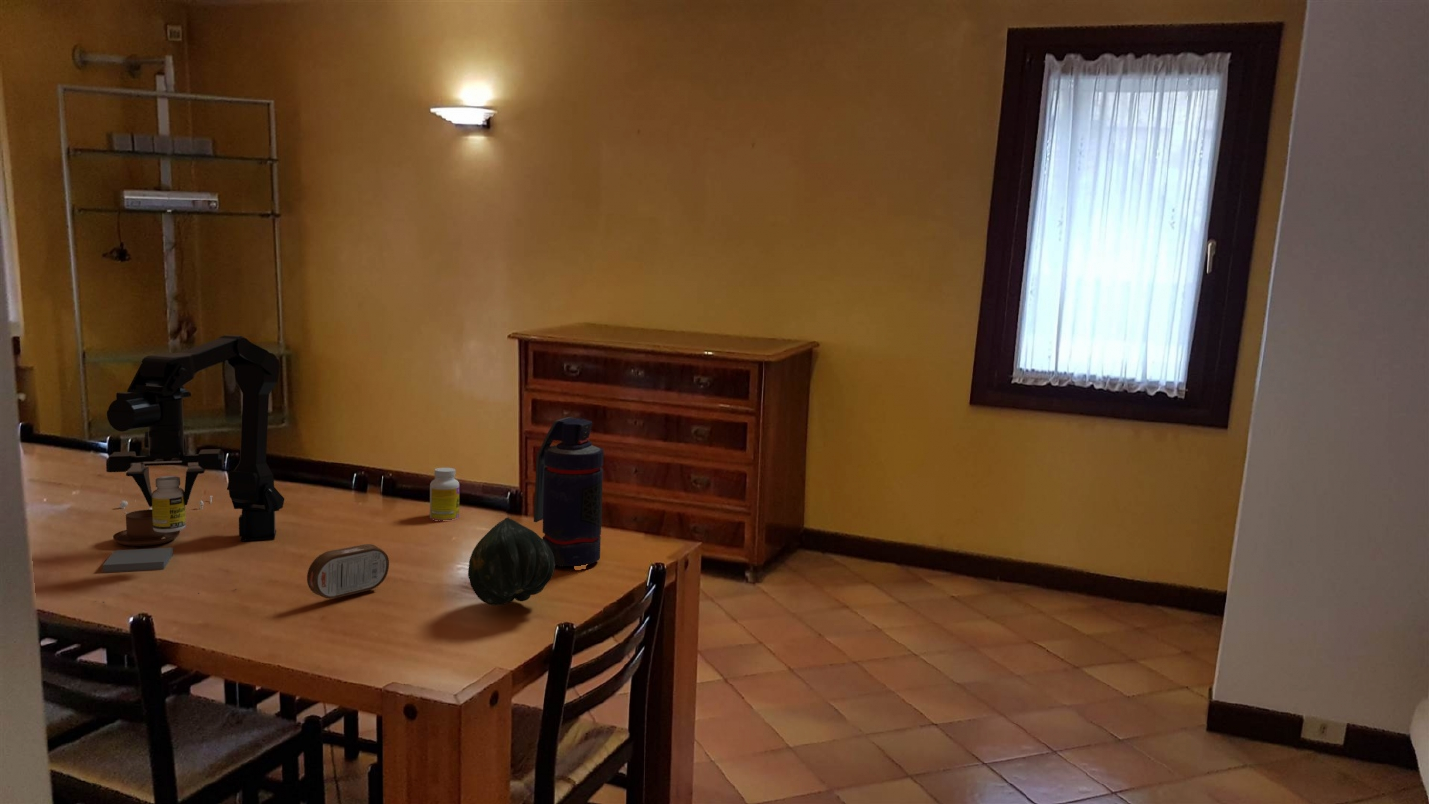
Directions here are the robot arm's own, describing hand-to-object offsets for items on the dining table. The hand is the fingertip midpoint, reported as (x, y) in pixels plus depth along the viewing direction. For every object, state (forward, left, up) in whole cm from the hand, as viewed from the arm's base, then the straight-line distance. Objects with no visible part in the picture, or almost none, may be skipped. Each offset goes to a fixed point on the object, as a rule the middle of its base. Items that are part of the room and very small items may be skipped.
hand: (168, 505), depth 181 cm
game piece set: (+8, -50, -13) cm, 53 cm away
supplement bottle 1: (0, 0, -5) cm, 5 cm away
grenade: (-74, +10, -13) cm, 76 cm away
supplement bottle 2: (-53, -27, -13) cm, 60 cm away
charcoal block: (+6, -7, -13) cm, 16 cm away
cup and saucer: (+8, -22, -13) cm, 27 cm away
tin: (-32, +20, -13) cm, 40 cm away
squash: (-59, +33, -13) cm, 69 cm away
